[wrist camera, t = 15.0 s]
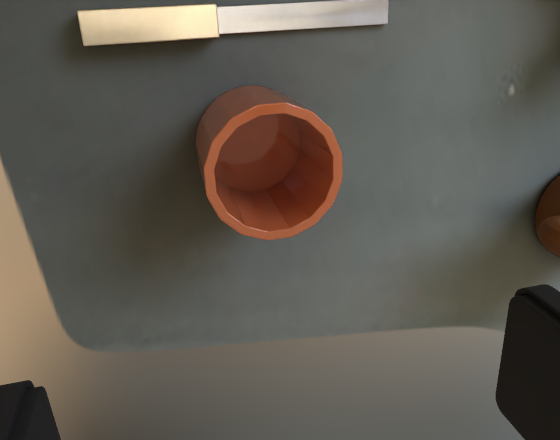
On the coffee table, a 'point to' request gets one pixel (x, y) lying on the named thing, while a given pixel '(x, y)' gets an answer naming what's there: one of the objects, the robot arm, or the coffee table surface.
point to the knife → (221, 20)
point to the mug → (549, 218)
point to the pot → (267, 162)
